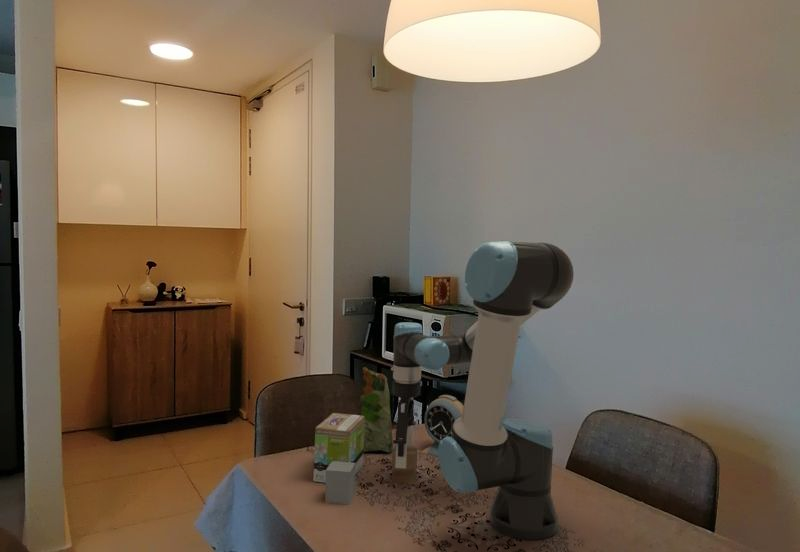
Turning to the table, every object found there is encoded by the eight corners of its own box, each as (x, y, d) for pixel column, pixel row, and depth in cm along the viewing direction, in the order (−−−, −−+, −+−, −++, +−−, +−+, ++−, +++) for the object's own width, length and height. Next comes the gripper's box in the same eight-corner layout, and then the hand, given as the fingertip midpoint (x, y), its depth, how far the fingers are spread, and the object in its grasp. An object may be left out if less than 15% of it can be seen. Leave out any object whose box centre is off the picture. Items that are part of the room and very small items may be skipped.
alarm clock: (417, 451, 173) (419, 394, 173) (435, 443, 181) (436, 388, 180) (457, 463, 165) (459, 403, 164) (474, 453, 173) (476, 396, 172)
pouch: (387, 458, 167) (389, 374, 166) (349, 453, 170) (351, 371, 169) (397, 446, 178) (399, 367, 177) (361, 441, 181) (363, 364, 180)
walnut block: (414, 484, 149) (414, 454, 149) (391, 482, 150) (392, 452, 150) (416, 475, 155) (417, 446, 155) (395, 473, 156) (395, 445, 156)
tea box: (349, 486, 147) (350, 430, 146) (312, 482, 149) (313, 427, 148) (364, 465, 161) (365, 414, 161) (330, 461, 163) (331, 411, 163)
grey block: (349, 504, 136) (350, 472, 136) (325, 502, 137) (325, 470, 137) (354, 494, 142) (355, 462, 142) (331, 492, 143) (332, 461, 143)
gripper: (399, 369, 164) (397, 440, 166) (385, 391, 140) (382, 475, 141) (425, 370, 163) (422, 442, 164) (415, 393, 139) (412, 477, 140)
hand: (404, 458), depth 153 cm, fingers open, 13 cm apart
